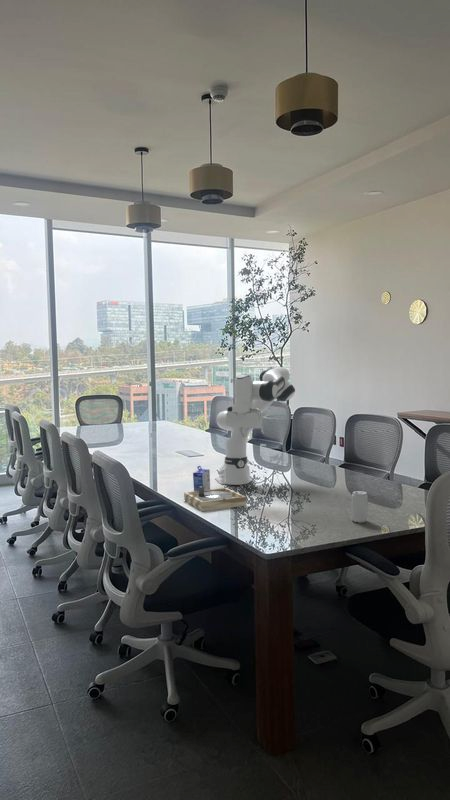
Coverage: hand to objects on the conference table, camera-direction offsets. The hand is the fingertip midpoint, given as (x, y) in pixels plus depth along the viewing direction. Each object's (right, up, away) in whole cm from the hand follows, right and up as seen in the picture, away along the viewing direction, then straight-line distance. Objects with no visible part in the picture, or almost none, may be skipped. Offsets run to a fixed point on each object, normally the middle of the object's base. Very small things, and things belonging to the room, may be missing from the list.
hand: (243, 436), depth 288 cm
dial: (-14, -28, -12) cm, 34 cm away
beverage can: (+46, -32, -47) cm, 73 cm away
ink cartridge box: (-21, -29, +5) cm, 36 cm away
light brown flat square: (-14, -30, -12) cm, 35 cm away
